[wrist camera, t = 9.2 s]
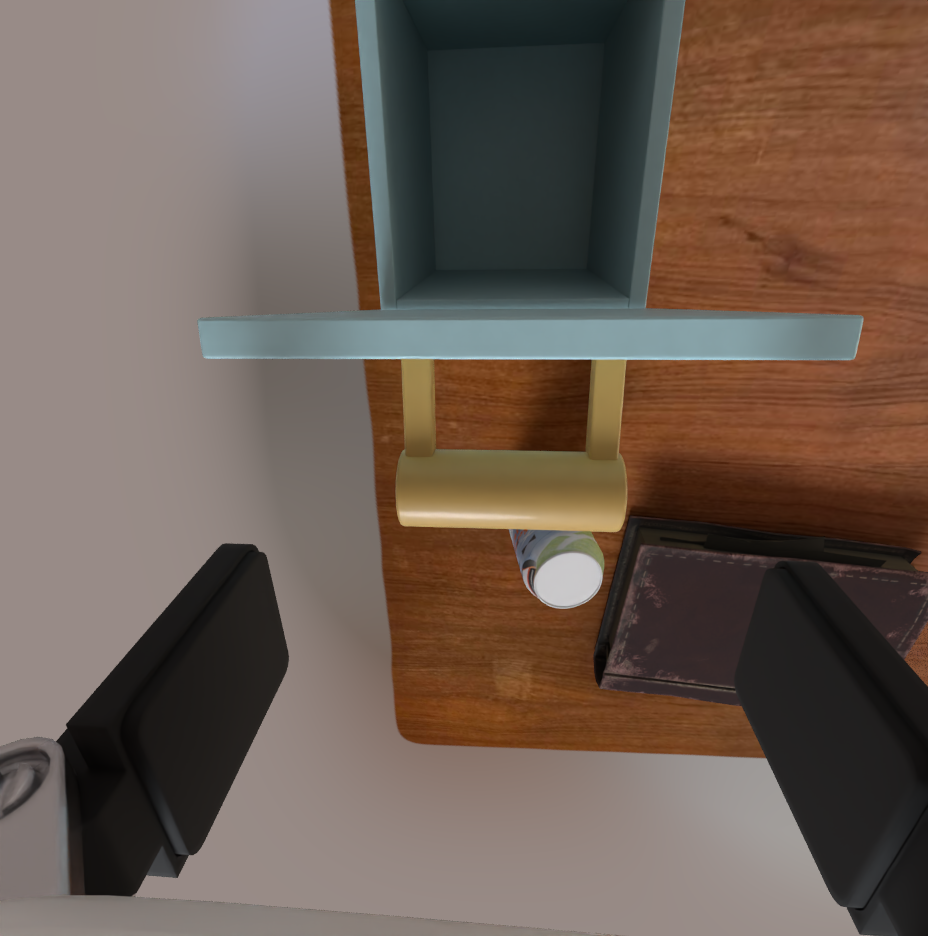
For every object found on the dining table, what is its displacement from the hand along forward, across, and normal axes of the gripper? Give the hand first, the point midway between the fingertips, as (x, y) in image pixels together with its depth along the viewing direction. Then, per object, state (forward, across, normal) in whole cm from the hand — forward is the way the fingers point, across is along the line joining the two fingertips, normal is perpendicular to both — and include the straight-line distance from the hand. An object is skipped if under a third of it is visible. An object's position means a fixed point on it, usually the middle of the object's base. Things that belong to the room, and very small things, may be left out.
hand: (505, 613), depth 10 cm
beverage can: (+34, -4, +17) cm, 38 cm away
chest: (+34, 0, -10) cm, 35 cm away
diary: (+34, -23, +28) cm, 49 cm away
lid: (+10, 0, -4) cm, 11 cm away
